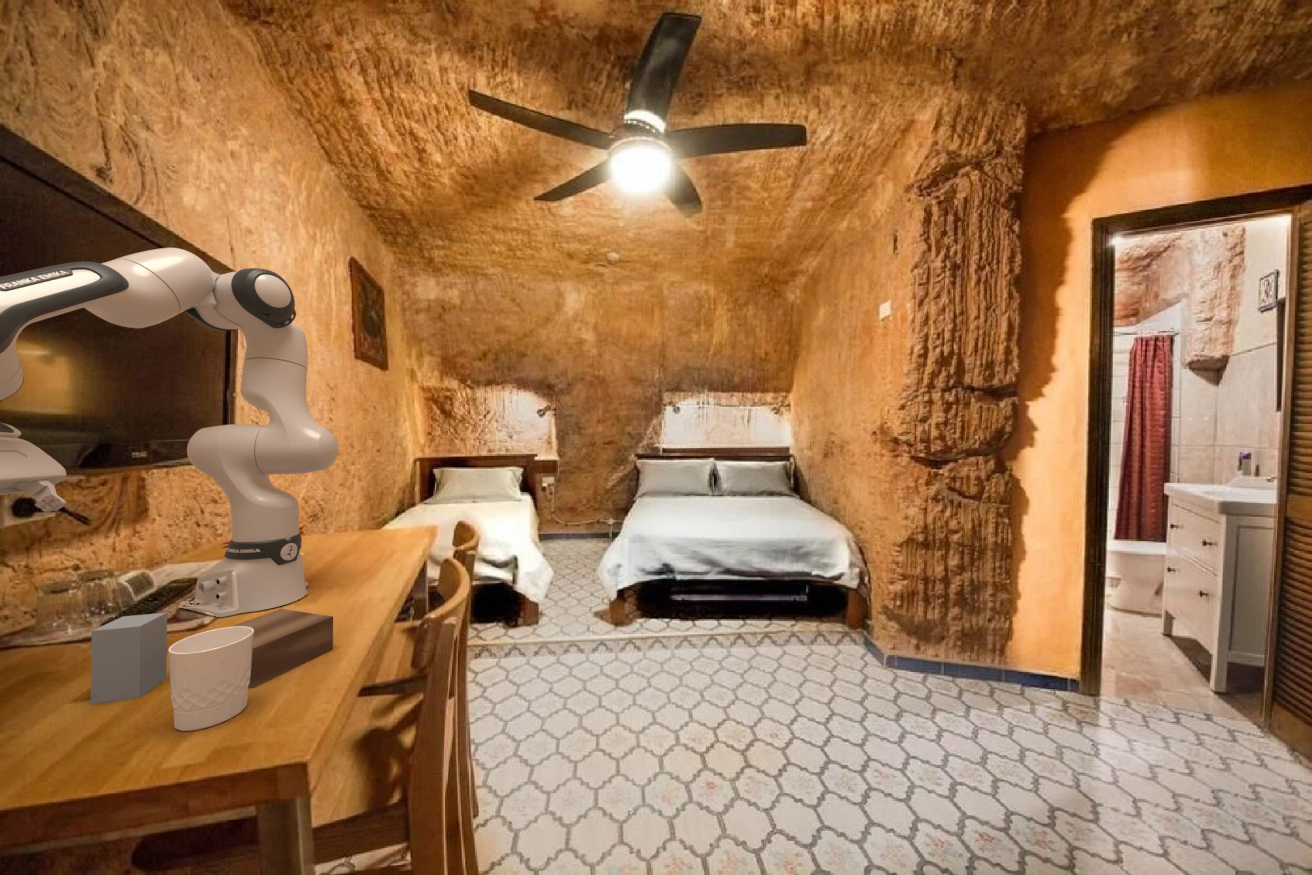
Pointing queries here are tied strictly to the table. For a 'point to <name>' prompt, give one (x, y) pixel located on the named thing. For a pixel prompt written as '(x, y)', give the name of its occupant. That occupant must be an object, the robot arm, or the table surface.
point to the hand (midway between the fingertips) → (22, 512)
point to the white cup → (210, 676)
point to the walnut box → (286, 642)
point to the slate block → (128, 657)
